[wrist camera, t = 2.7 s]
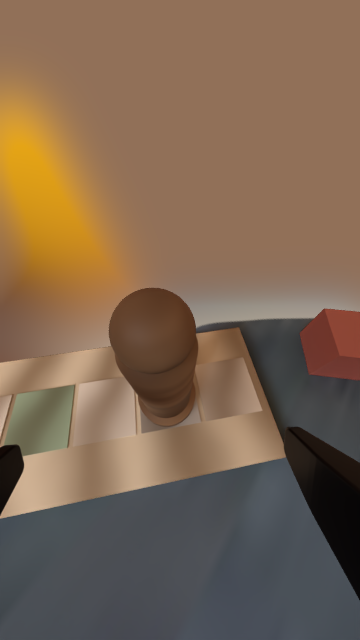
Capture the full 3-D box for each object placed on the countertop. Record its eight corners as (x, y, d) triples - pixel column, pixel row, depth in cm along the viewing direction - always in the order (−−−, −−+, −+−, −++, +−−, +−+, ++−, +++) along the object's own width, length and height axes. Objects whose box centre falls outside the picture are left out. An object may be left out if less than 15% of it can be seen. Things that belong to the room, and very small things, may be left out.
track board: (236, 333, 22) (239, 326, 20) (281, 456, 16) (289, 456, 14) (-29, 373, 19) (-42, 368, 18) (-96, 537, 13) (-120, 544, 12)
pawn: (202, 385, 17) (237, 282, 7) (179, 438, 15) (177, 405, 5) (158, 362, 18) (130, 244, 8) (130, 409, 16) (42, 330, 6)
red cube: (343, 338, 21) (378, 313, 18) (358, 380, 19) (402, 362, 15) (299, 333, 22) (324, 308, 18) (308, 374, 19) (339, 355, 15)
